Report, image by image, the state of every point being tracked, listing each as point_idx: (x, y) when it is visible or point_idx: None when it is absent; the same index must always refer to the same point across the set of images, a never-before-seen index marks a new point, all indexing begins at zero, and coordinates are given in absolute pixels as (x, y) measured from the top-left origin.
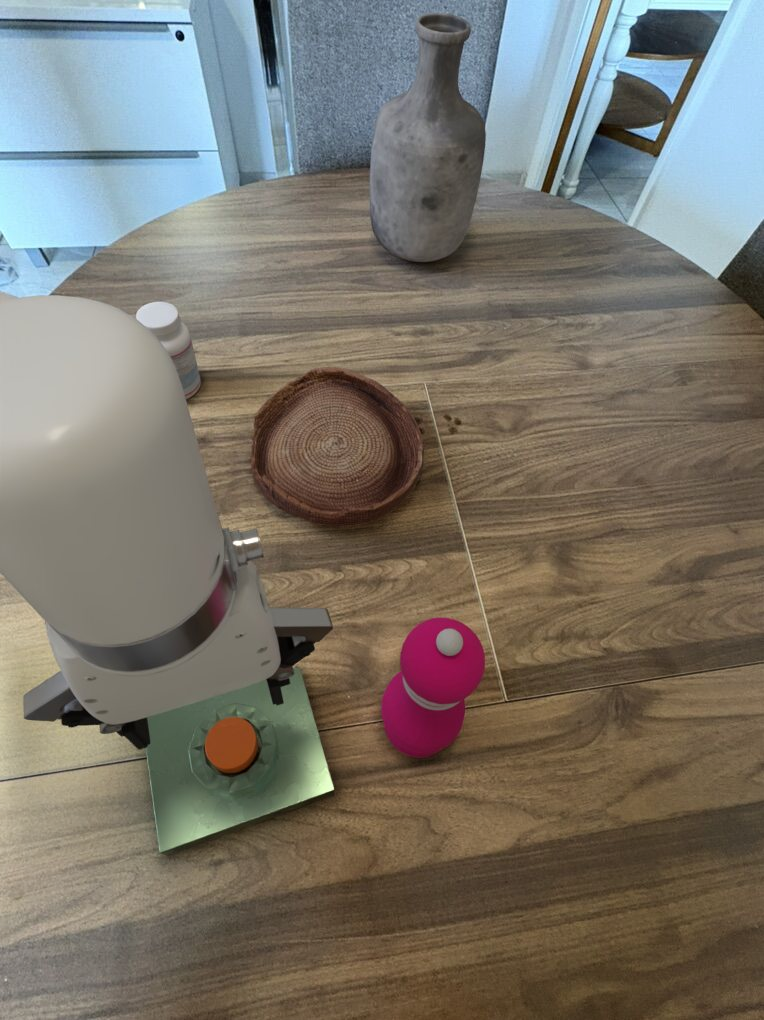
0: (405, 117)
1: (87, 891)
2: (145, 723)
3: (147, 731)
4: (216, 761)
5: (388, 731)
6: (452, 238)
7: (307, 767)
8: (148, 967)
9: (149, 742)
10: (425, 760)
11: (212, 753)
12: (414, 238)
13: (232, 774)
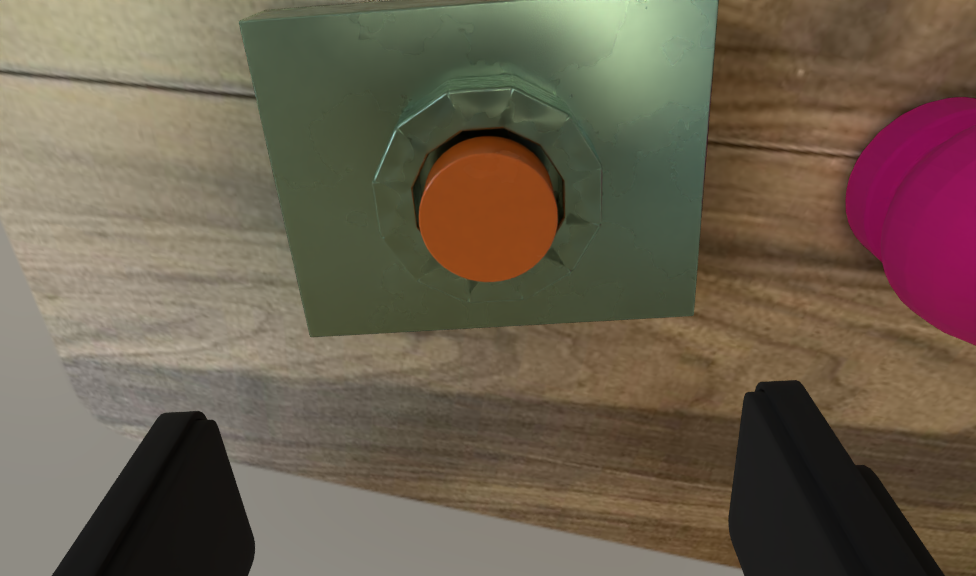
0: None
1: (179, 317)
2: (225, 533)
3: (237, 539)
4: (445, 258)
5: (888, 262)
6: None
7: (650, 260)
8: (301, 434)
9: (250, 559)
10: None
11: (437, 237)
12: None
13: None
